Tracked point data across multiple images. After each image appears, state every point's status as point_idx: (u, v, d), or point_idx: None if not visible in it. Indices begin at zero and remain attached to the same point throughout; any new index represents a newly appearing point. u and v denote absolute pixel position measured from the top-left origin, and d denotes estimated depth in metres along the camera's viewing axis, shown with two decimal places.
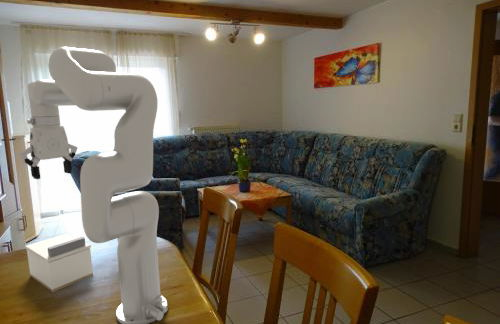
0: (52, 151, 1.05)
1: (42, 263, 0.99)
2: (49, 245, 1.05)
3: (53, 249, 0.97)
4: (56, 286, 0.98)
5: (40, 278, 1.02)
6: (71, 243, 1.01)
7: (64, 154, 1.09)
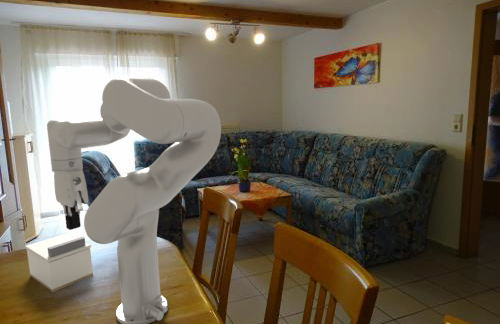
0: None
1: (42, 263, 0.99)
2: (49, 245, 1.05)
3: (53, 249, 0.97)
4: (56, 286, 0.98)
5: (40, 278, 1.02)
6: (71, 243, 1.01)
7: None
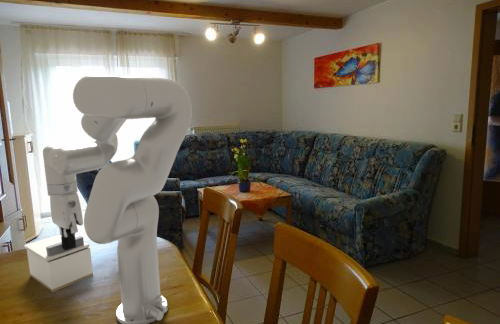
0: None
1: (42, 263, 0.99)
2: (48, 244, 1.06)
3: (52, 248, 0.98)
4: (56, 286, 0.98)
5: (40, 278, 1.02)
6: None
7: None
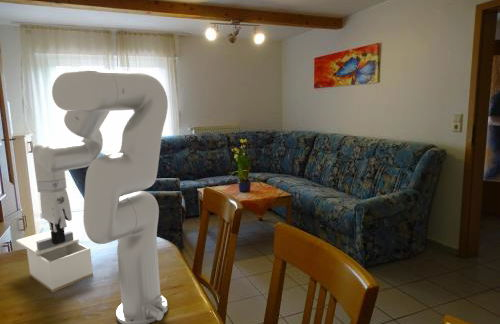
0: None
1: (42, 263, 0.99)
2: (39, 239, 1.10)
3: (42, 243, 1.02)
4: (56, 286, 0.98)
5: (40, 278, 1.02)
6: None
7: None
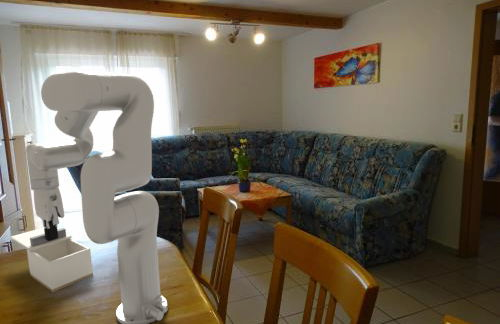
0: None
1: (42, 263, 0.99)
2: (32, 236, 1.13)
3: (35, 239, 1.05)
4: (56, 286, 0.98)
5: (40, 278, 1.02)
6: None
7: None
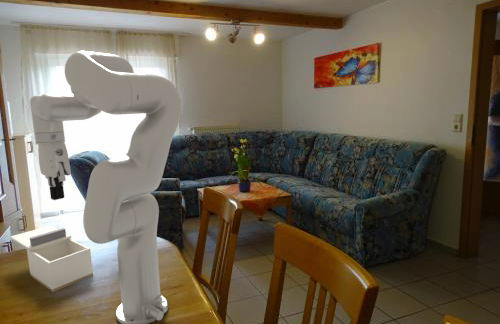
0: None
1: (42, 263, 0.99)
2: (32, 236, 1.13)
3: (35, 239, 1.05)
4: (56, 286, 0.98)
5: (40, 278, 1.02)
6: (52, 233, 1.09)
7: None
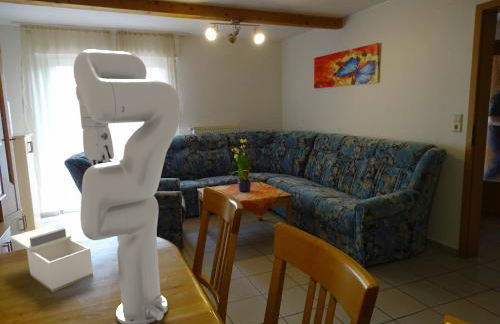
0: None
1: (42, 263, 0.99)
2: (32, 236, 1.13)
3: (35, 239, 1.05)
4: (56, 286, 0.98)
5: (40, 278, 1.02)
6: (52, 233, 1.09)
7: None
